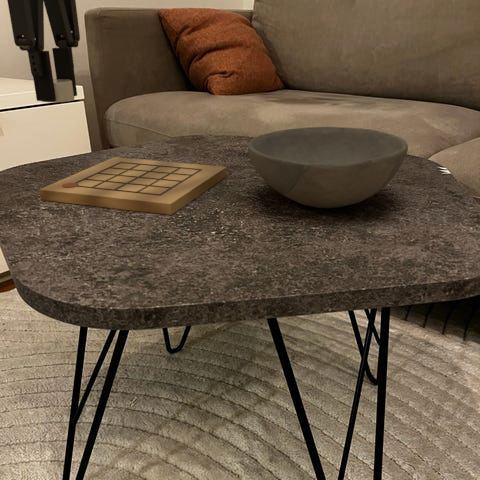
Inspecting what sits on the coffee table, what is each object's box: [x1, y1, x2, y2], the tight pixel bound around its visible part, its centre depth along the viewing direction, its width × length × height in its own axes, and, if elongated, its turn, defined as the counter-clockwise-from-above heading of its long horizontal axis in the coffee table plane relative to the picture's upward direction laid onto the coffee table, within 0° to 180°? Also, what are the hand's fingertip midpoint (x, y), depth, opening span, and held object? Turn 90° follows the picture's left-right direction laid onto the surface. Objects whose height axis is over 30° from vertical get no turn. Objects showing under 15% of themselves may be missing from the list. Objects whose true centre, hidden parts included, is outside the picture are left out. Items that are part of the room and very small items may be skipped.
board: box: [39, 156, 228, 216], centre depth 87 cm, size 20×20×2 cm
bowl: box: [246, 126, 409, 209], centre depth 80 cm, size 21×21×8 cm
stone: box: [41, 78, 75, 103], centre depth 86 cm, size 5×5×3 cm
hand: (57, 97), depth 87 cm, fingers closed on stone, 5 cm apart
